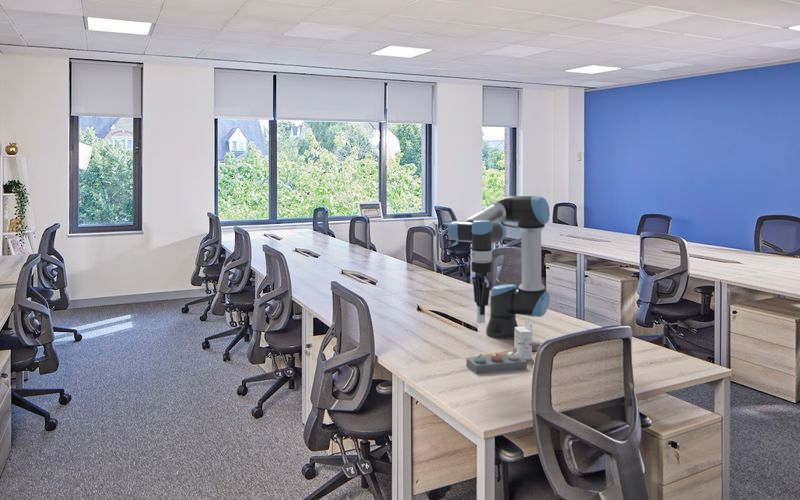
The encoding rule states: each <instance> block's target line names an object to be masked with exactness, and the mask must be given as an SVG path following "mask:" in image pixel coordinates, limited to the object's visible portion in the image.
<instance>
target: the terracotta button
mask: <svg viewBox="0 0 800 500" xmlns="http://www.w3.org/2000/svg"><path fill="white" fill-rule="evenodd" d="M502 355H503V354H502V353H501V352H492V353H490V356H491V360H492V361H502Z"/></svg>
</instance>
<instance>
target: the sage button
mask: <svg viewBox="0 0 800 500" xmlns="http://www.w3.org/2000/svg"><path fill="white" fill-rule="evenodd" d="M486 357H487V356H486V355H484V354H481V353H479V354H477V353H476V354H474V356H473V358H474V362H477V363H483V362H485V361H486Z"/></svg>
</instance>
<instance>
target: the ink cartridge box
mask: <svg viewBox="0 0 800 500" xmlns="http://www.w3.org/2000/svg"><path fill="white" fill-rule="evenodd" d="M513 339H514V341H513V342H514V343H513V345H514V346H513V352H518V353H519V356H520V357H521V358H523V359H524V360H526V361H527V360H529V361H530V360H533V359H532V358H533V355H532V354H533V352H532V351H533V324H532V323H530V321H528V320H527V319H524V326H518V327H515V334H514V338H513Z"/></svg>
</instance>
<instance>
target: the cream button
mask: <svg viewBox="0 0 800 500" xmlns="http://www.w3.org/2000/svg"><path fill="white" fill-rule="evenodd" d="M507 355H508V359H510V360H518V359H519V353H518V352H514V351H508V352H507Z"/></svg>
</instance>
